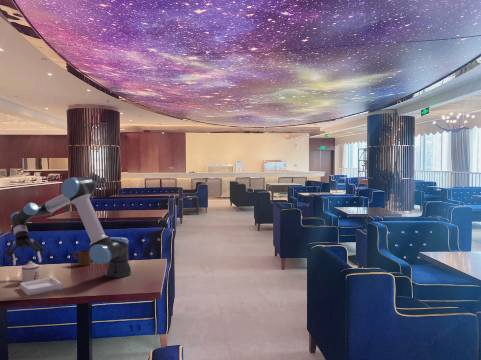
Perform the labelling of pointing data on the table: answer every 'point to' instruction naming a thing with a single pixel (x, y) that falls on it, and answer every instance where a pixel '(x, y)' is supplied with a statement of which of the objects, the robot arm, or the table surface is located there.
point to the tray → (41, 286)
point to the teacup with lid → (30, 272)
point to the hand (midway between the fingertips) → (27, 262)
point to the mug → (83, 257)
